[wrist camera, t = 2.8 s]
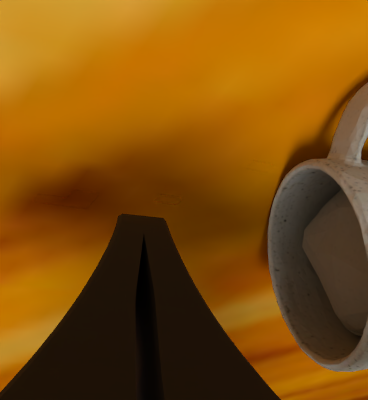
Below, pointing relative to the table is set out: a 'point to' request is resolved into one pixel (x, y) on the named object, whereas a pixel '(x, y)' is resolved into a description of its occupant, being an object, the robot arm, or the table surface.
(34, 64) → the table surface
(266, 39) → the table surface
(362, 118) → the ceramic mug
